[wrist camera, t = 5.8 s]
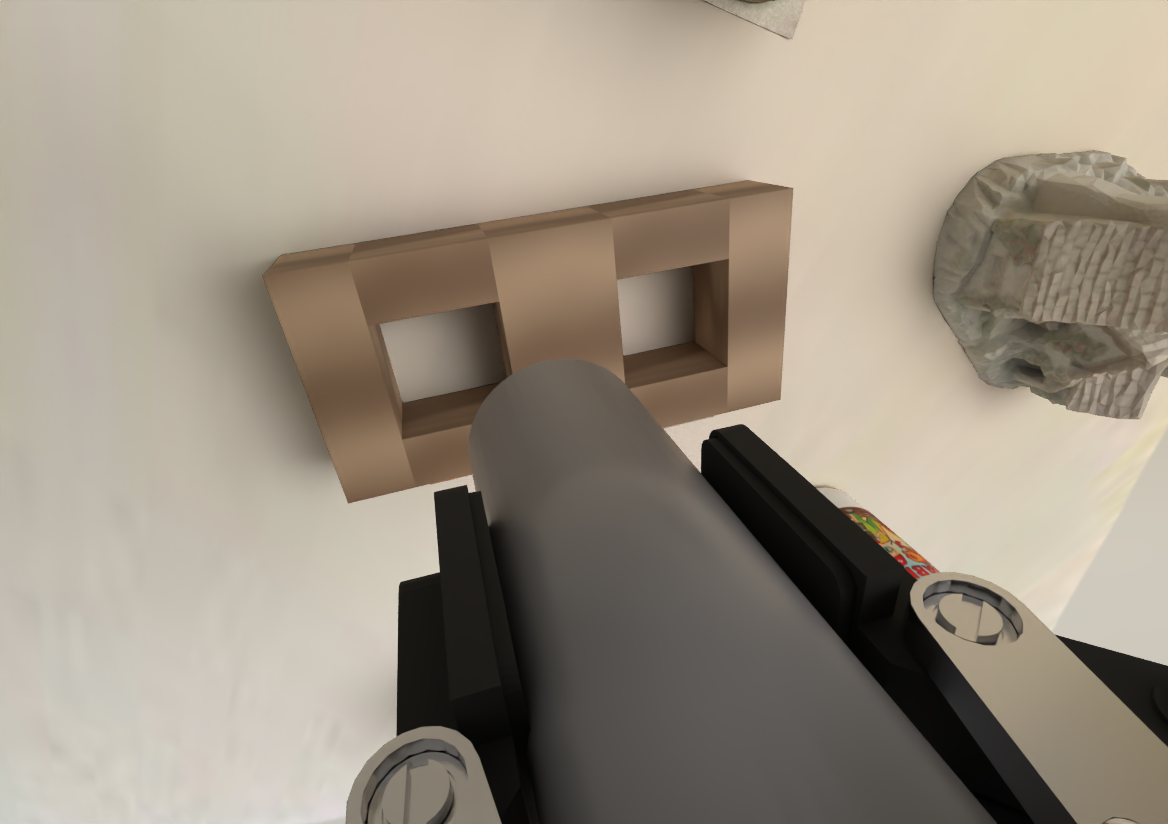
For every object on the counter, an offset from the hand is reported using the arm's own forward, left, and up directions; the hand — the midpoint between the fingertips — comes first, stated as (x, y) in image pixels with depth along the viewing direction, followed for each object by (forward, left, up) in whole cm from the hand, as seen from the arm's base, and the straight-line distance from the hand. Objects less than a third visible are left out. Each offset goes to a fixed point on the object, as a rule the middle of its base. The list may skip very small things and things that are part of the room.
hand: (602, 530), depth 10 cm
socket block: (+3, +3, -21) cm, 21 cm away
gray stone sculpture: (+7, +35, -21) cm, 41 cm away
